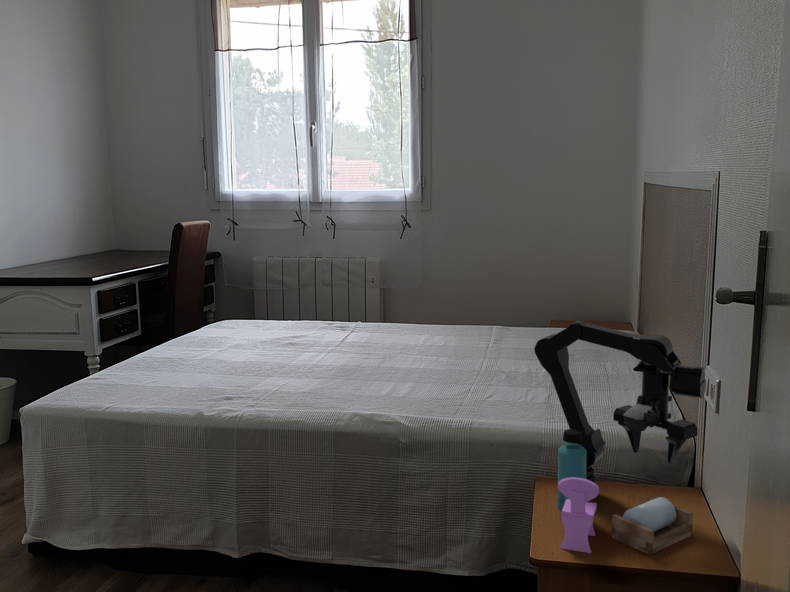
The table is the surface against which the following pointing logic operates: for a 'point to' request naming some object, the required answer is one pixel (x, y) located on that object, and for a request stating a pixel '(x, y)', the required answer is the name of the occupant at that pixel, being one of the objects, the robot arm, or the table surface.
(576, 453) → the beverage bottle
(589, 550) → the toy chair
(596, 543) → the table surface
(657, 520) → the roll
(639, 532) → the holder
